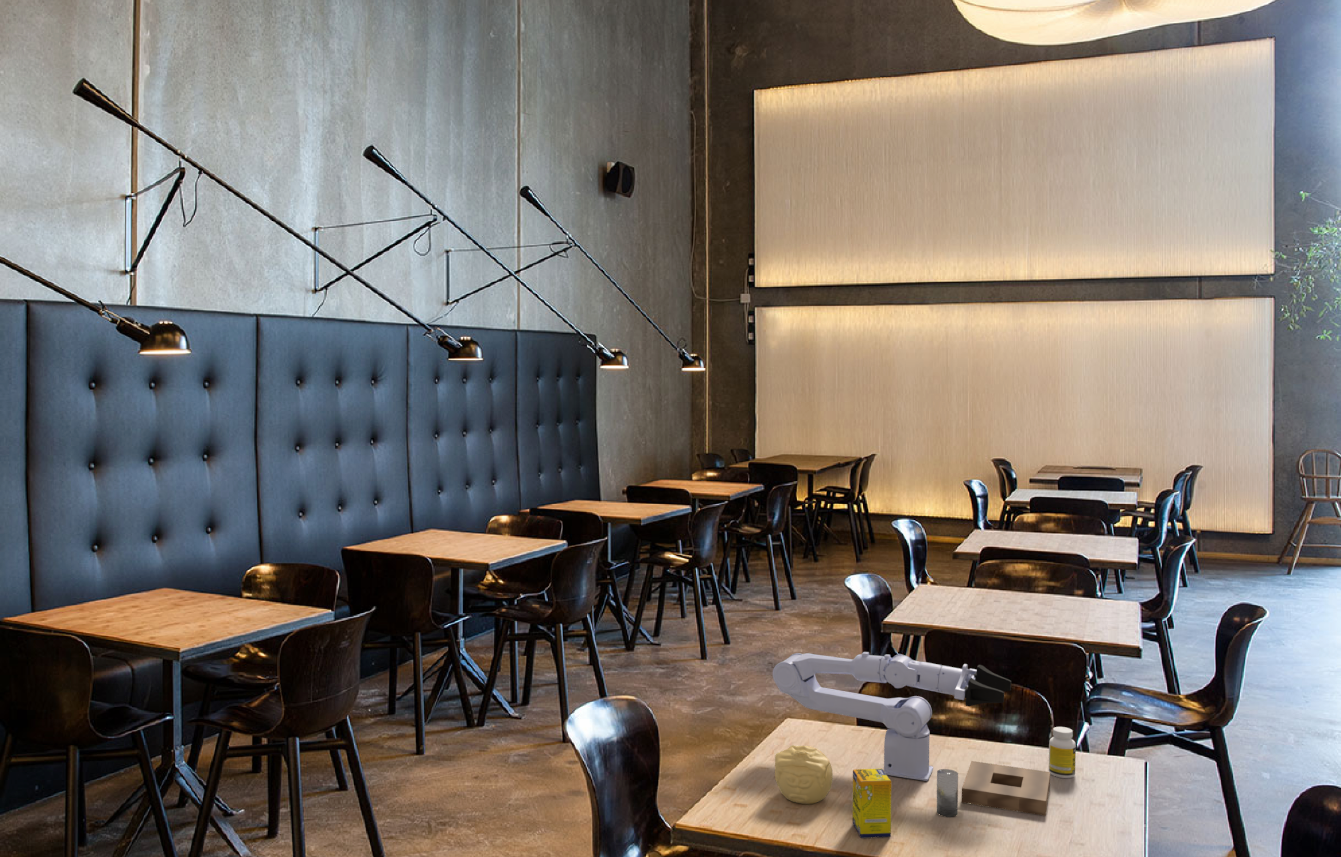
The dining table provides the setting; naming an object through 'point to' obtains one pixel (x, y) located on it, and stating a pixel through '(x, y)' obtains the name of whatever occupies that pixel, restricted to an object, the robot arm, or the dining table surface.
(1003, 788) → the socket block
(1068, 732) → the supplement bottle
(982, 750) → the dining table surface
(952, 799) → the steel pin
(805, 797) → the sculpture
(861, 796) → the supplement box
